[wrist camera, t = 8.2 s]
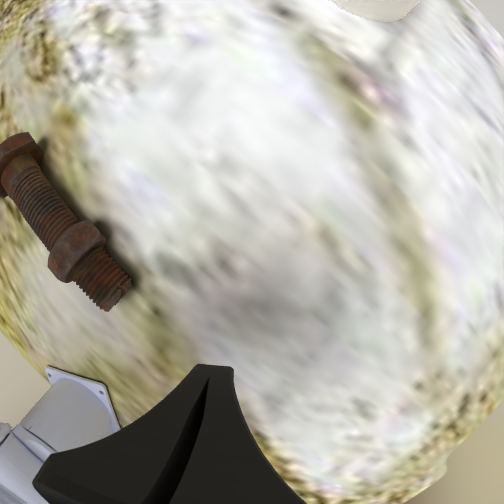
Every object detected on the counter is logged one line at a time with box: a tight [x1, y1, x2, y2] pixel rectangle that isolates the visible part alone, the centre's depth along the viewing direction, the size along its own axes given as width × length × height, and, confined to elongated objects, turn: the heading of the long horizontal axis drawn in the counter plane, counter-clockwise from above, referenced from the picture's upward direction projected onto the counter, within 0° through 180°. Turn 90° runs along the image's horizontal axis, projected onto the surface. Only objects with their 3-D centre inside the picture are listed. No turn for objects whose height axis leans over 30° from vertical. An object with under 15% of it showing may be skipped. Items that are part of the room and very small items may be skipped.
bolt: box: [0, 132, 131, 312], centre depth 16 cm, size 6×5×15 cm
